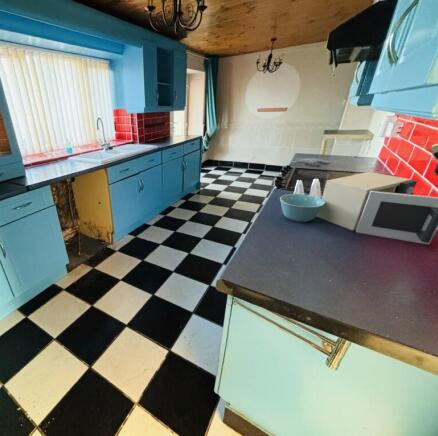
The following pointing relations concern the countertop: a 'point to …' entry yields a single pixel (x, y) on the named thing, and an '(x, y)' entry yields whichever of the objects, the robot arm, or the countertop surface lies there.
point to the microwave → (357, 195)
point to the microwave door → (400, 216)
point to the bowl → (301, 206)
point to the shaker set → (314, 190)
